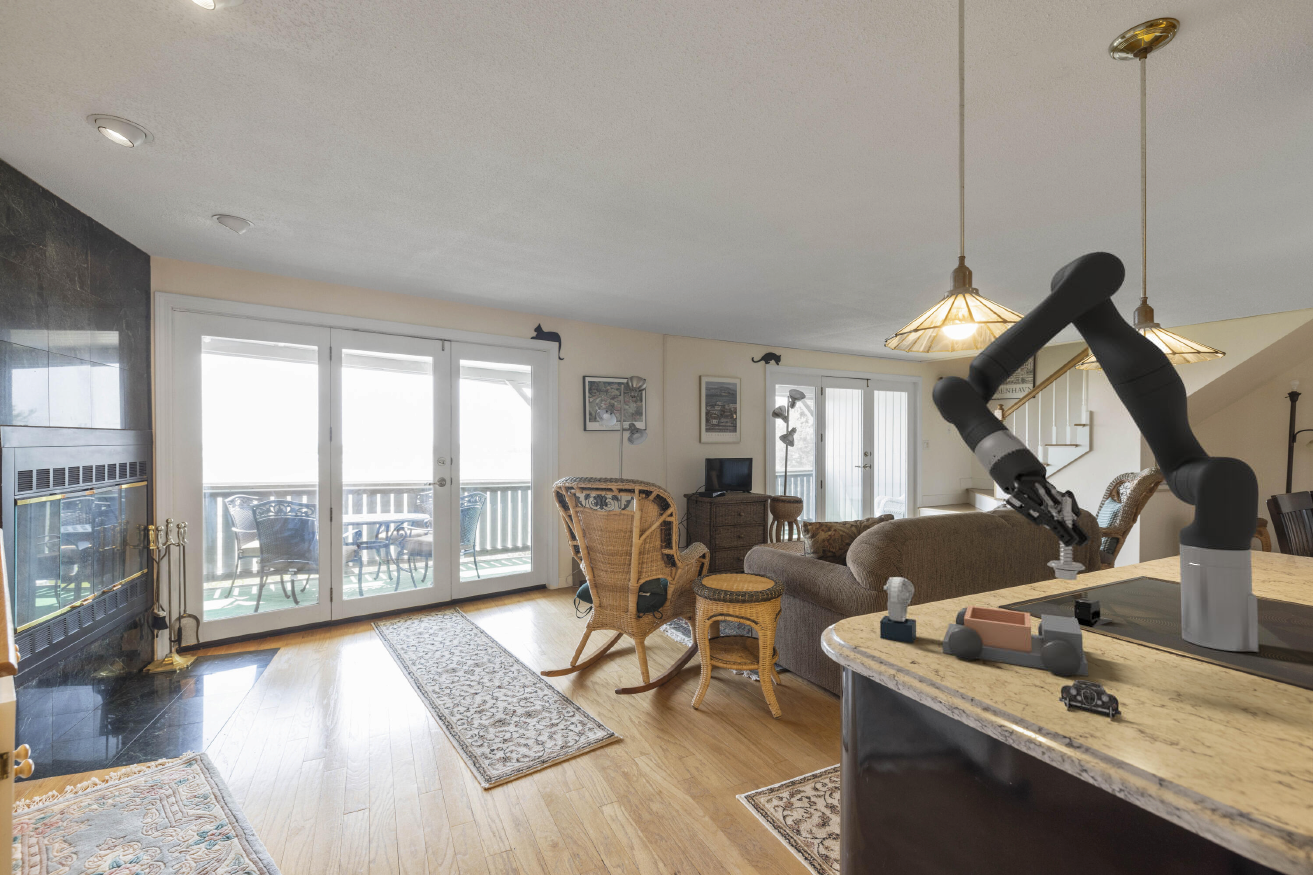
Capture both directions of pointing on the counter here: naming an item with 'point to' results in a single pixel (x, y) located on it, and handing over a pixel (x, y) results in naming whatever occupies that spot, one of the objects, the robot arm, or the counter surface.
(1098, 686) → the car cutout
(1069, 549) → the screw
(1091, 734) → the counter surface
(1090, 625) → the black boxy piece
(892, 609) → the bust statue
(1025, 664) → the toy chassis
